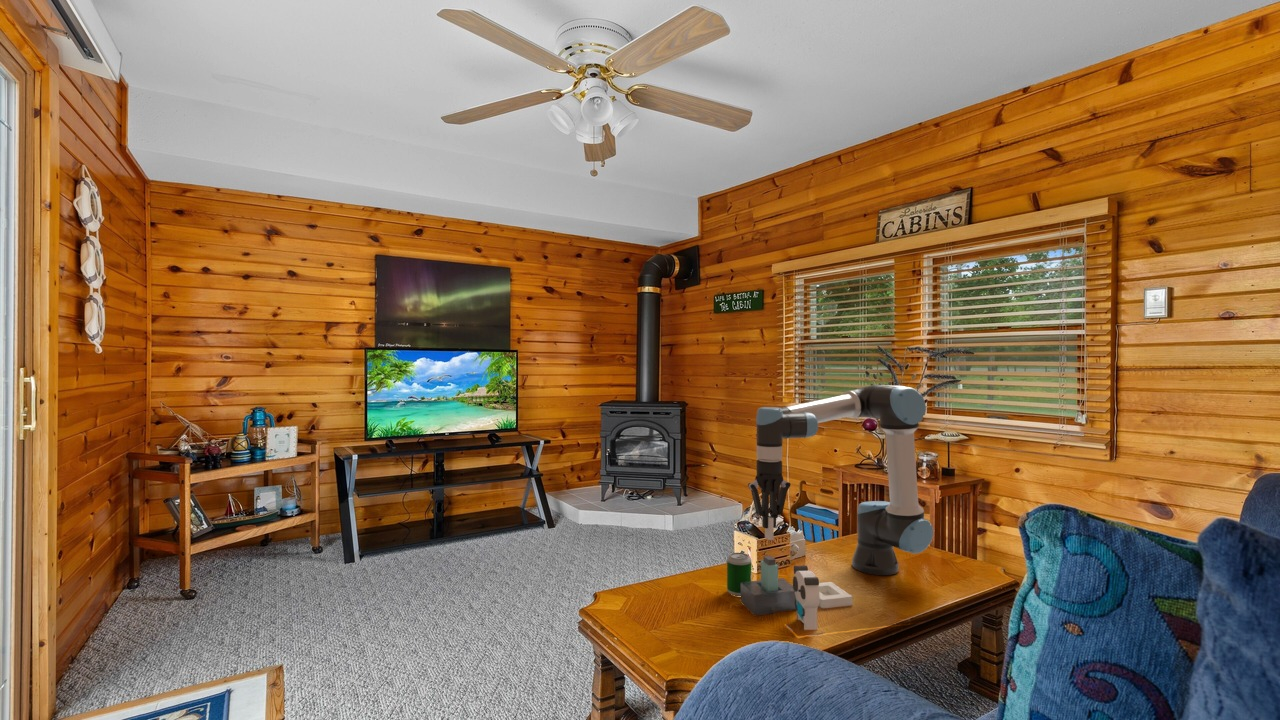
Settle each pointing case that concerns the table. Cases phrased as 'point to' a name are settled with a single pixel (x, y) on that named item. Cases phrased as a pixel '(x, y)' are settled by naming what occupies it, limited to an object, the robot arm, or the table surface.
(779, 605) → the block
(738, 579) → the soda can
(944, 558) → the table surface
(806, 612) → the panda figurine
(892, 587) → the table surface
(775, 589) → the plug
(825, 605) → the white flat block
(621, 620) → the table surface
